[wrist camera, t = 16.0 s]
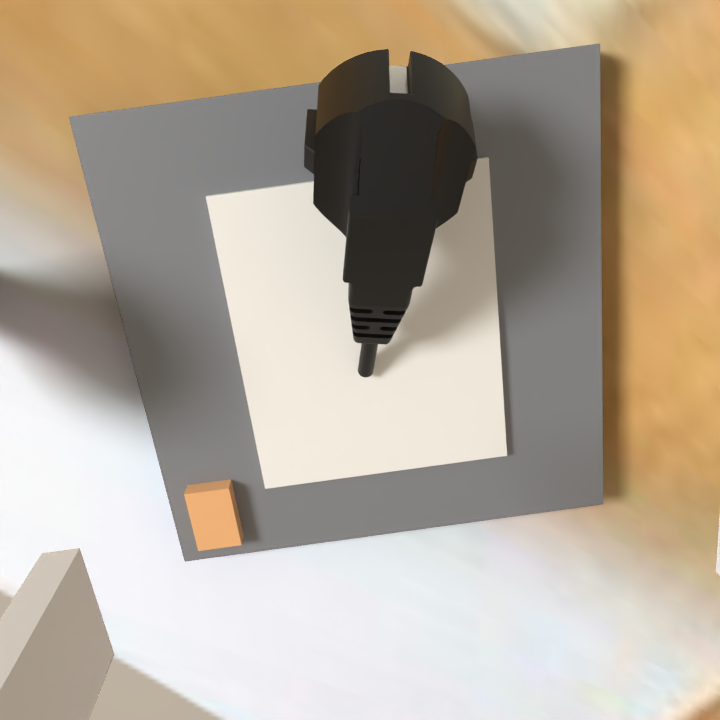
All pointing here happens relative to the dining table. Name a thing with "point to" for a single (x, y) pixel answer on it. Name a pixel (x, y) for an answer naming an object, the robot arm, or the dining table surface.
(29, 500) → the dining table surface
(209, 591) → the dining table surface
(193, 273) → the socket board
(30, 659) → the robot arm
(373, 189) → the power plug
